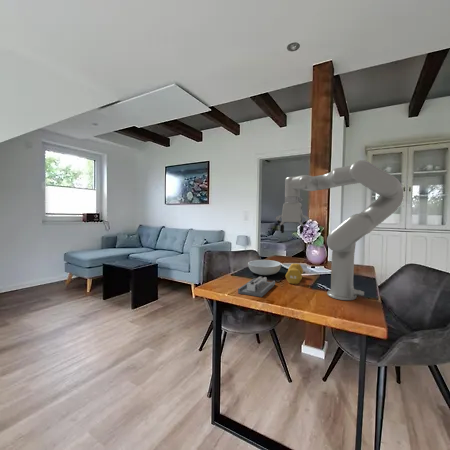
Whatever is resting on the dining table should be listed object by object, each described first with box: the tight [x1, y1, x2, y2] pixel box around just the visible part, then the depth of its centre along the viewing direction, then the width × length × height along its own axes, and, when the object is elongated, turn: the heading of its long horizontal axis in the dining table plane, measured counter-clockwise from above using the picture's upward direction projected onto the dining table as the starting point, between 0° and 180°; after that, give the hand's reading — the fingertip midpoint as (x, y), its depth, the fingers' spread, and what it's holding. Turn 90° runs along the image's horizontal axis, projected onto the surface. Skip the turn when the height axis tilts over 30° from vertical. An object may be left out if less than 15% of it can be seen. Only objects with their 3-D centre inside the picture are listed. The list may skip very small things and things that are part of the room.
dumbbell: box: [284, 263, 304, 285], centre depth 148 cm, size 19×9×8 cm, turn 160°
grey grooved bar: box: [247, 276, 268, 292], centre depth 131 cm, size 18×4×4 cm, turn 153°
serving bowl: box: [247, 259, 282, 276], centre depth 163 cm, size 21×21×7 cm
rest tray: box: [237, 277, 276, 298], centre depth 131 cm, size 12×22×2 cm, turn 153°
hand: (291, 233), depth 135 cm, fingers open, 9 cm apart
